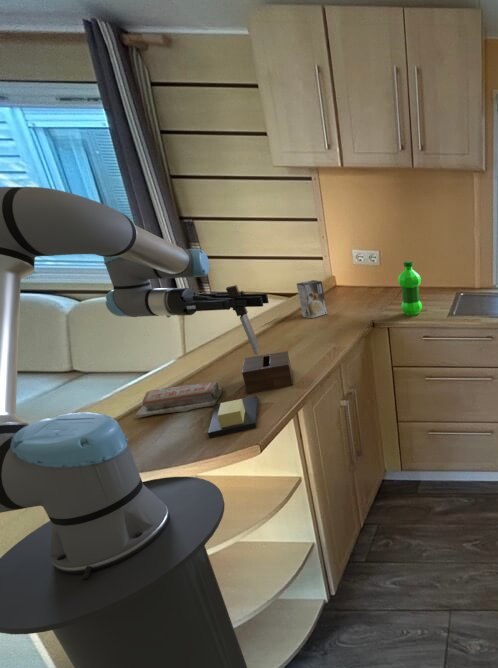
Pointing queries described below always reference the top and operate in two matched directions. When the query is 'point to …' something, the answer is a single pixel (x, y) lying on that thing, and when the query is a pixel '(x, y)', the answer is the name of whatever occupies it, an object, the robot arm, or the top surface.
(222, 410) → the butter left
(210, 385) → the packaged product
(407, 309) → the plastic bottle
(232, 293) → the knife
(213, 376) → the top surface
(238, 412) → the butter right
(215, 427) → the cutting board
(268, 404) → the top surface
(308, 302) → the coffee box
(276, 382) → the knife block
